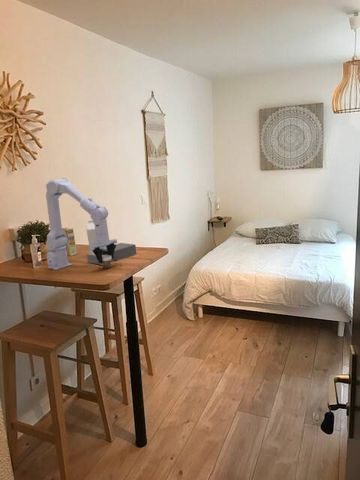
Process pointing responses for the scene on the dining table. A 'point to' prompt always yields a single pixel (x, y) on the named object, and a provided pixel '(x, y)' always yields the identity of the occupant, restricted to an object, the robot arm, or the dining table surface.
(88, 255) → the grey drawer
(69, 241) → the candy box
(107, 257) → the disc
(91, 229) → the milk carton
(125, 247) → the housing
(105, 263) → the brown cylinder
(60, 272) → the dining table surface
